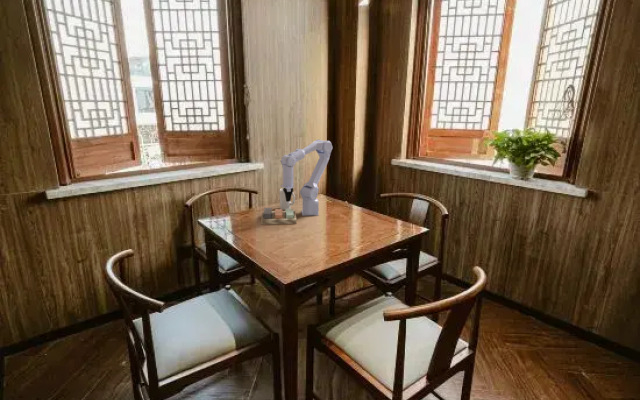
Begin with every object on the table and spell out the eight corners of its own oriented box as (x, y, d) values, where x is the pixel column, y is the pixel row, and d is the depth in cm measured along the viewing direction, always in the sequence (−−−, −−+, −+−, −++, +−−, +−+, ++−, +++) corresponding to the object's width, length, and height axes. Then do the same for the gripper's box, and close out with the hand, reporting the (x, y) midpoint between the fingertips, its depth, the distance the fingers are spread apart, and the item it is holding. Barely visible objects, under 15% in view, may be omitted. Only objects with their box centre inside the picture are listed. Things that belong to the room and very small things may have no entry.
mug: (277, 209, 213) (277, 190, 210) (282, 206, 219) (282, 187, 216) (292, 211, 209) (292, 192, 206) (297, 208, 215) (297, 189, 212)
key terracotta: (282, 215, 200) (282, 209, 199) (282, 222, 189) (282, 215, 188) (275, 215, 199) (275, 209, 198) (275, 222, 189) (275, 215, 188)
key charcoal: (271, 214, 199) (271, 207, 198) (271, 220, 188) (271, 213, 187) (264, 214, 198) (264, 207, 197) (263, 220, 188) (263, 213, 187)
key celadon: (292, 215, 200) (292, 209, 199) (293, 222, 190) (293, 215, 189) (285, 215, 200) (285, 209, 199) (286, 222, 189) (286, 215, 188)
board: (295, 215, 203) (295, 211, 202) (296, 223, 188) (296, 219, 188) (262, 215, 200) (262, 211, 200) (261, 224, 186) (261, 219, 185)
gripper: (280, 174, 197) (280, 197, 201) (281, 180, 183) (281, 205, 187) (292, 174, 198) (292, 197, 202) (294, 180, 184) (294, 204, 188)
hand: (288, 201), depth 194 cm, fingers closed
